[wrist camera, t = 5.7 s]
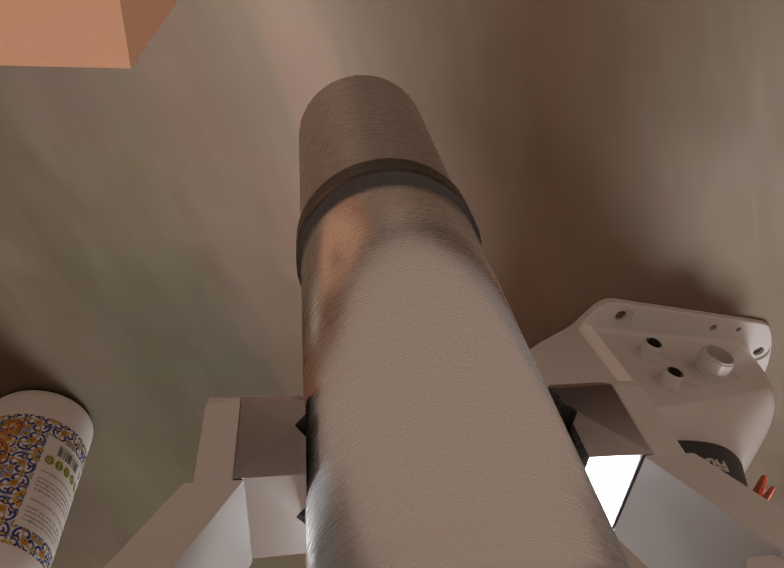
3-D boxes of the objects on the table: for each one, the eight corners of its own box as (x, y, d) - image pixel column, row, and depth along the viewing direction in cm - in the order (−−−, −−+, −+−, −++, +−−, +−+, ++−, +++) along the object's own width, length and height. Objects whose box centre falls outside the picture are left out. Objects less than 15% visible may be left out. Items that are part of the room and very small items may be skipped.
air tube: (432, 73, 20) (707, 530, 7) (420, 196, 22) (604, 712, 9) (294, 69, 19) (294, 563, 6) (297, 196, 21) (301, 749, 8)
